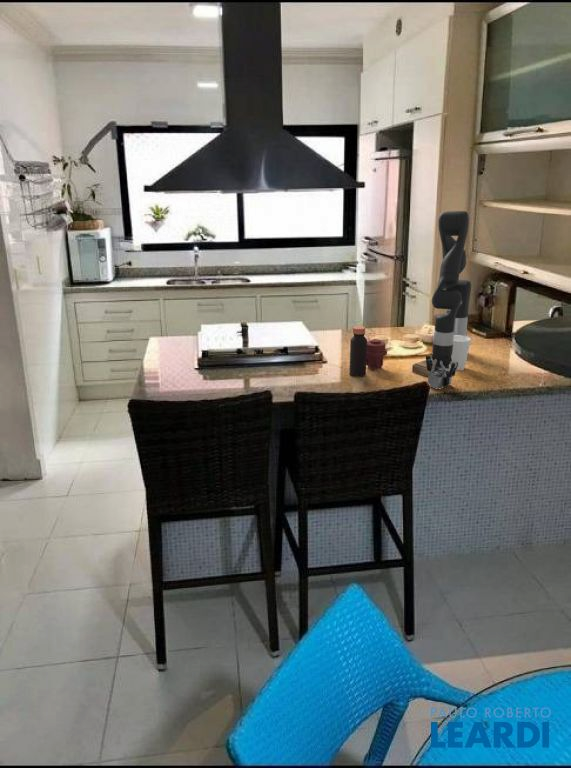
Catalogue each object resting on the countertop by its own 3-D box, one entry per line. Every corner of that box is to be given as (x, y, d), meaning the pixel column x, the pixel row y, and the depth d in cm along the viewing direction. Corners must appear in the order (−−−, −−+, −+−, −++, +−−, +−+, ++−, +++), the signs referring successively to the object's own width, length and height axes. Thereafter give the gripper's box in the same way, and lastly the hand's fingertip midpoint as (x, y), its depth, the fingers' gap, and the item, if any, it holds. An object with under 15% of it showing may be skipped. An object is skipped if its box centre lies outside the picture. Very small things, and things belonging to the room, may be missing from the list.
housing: (440, 381, 239) (441, 367, 236) (450, 385, 235) (452, 370, 233) (427, 386, 234) (428, 371, 232) (437, 389, 230) (439, 375, 228)
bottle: (346, 373, 250) (347, 326, 243) (360, 371, 252) (362, 324, 245) (354, 378, 244) (356, 330, 237) (369, 375, 246) (370, 328, 239)
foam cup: (440, 368, 254) (443, 338, 250) (451, 362, 261) (454, 334, 256) (461, 372, 248) (464, 342, 244) (472, 367, 255) (475, 338, 250)
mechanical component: (386, 365, 259) (385, 372, 249) (363, 364, 261) (361, 371, 251) (388, 337, 254) (387, 344, 245) (364, 336, 256) (362, 343, 247)
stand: (427, 366, 256) (428, 358, 255) (446, 372, 249) (447, 364, 248) (412, 371, 251) (412, 363, 249) (431, 377, 243) (431, 369, 242)
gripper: (465, 344, 225) (460, 386, 231) (434, 336, 236) (431, 377, 242) (452, 348, 221) (448, 391, 227) (421, 340, 231) (418, 381, 237)
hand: (439, 383), depth 234 cm, fingers closed on housing, 5 cm apart
